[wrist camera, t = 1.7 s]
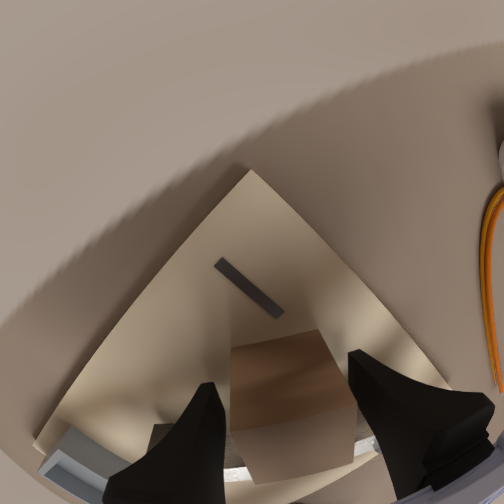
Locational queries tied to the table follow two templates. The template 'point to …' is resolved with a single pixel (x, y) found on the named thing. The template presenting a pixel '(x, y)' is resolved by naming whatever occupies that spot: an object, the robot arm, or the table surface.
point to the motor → (486, 272)
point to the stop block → (290, 408)
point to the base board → (229, 331)
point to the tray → (81, 466)
